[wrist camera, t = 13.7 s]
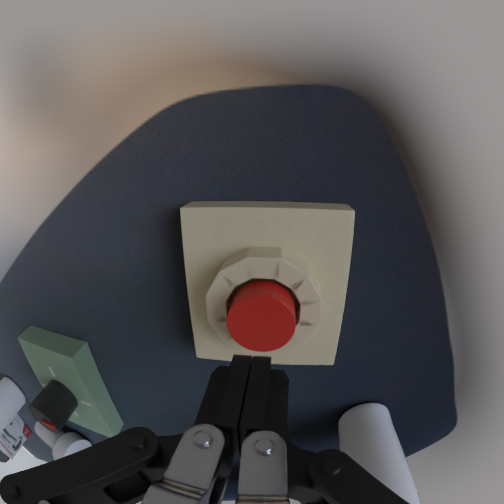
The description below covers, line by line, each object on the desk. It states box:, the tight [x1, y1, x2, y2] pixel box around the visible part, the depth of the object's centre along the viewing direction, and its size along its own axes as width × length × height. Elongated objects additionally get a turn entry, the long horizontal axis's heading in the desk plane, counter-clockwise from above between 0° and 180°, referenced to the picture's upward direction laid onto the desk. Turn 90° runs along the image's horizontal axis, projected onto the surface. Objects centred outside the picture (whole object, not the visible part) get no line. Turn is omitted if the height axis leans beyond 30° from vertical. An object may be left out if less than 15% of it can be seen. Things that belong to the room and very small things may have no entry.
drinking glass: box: [338, 403, 420, 504], centre depth 16 cm, size 7×7×15 cm
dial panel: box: [17, 325, 124, 438], centre depth 25 cm, size 14×10×3 cm
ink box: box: [0, 413, 32, 459], centre depth 35 cm, size 9×5×12 cm, turn 0°
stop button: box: [227, 281, 296, 352], centre depth 15 cm, size 4×4×2 cm
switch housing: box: [180, 201, 355, 365], centre depth 17 cm, size 11×10×4 cm
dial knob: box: [29, 380, 78, 434], centre depth 21 cm, size 4×4×5 cm
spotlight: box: [35, 421, 92, 460], centre depth 31 cm, size 8×11×8 cm
